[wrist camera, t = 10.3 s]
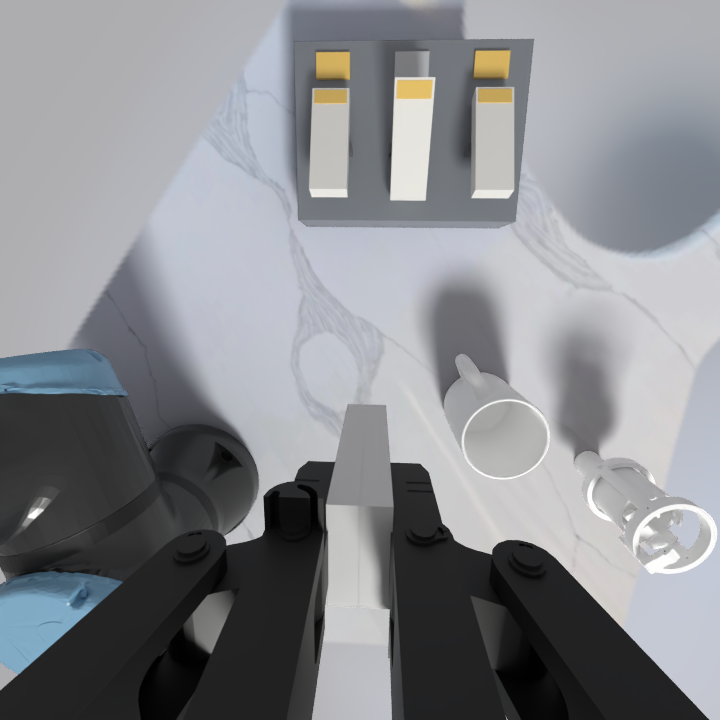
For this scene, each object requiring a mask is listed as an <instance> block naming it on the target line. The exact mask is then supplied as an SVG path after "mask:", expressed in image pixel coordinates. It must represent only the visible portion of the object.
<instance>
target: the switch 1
mask: <svg viewBox="0 0 720 720" xmlns="http://www.w3.org/2000/svg"><path fill="white" fill-rule="evenodd" d="M349 134H350V89H349V88H313V89H312V118H311V146H310V175H309V190H310V193H311V196H312V197H348V170H349Z"/></svg>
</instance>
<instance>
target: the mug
mask: <svg viewBox="0 0 720 720" xmlns="http://www.w3.org/2000/svg"><path fill="white" fill-rule="evenodd" d="M455 363H456V366H457V369H458V371H459V374H460V376H461V378H459V379H458V380H456V381H455V382H454V383H453V384H452V385H451V387H450V388H449V389H448V391H447V393H446V396H445V399H444V413H445V417H446V420H447V422H448V424H449V426H450V428H451V430H452V432H453V434H454V436H455V438H456V440H457V443H458V445H459V447H460V449H461V451H462V453H463V455H464V457H465V459H466V460H467V462H468V463H469V465H470V466H471V467H472V468H473V469H475V470H476V471H477V472H479V473H481V474H483V475H485V476H487V477H491V478H495V479H511V478H515V477H519V476H521V475H524V474H526V473H528V472H529V471H531V470H532V469H533V468H535V467H536V466H537V465H538V464H539V463H540V462H541V460H542V459H543V457H544V456H545V454H546V452H547V450H548V447H549V442H550V431H549V426H548V423H547V421H546V418H545V417H544V415H543V414H542V413H541V412H540V410H539V409H537V408H536V407H535V406H534V405H533V404H531V403H530V402H529V401H528V400H527V399H525V398H524V397H523V396H522V395H520V394H519V393H518V392H517V391H516V390H514V389H513V388H512V387H511V386H510V385H508V384H507V383H506V382H505V381H503V380H502V379H500V378H499V377H497V376H495V375H492V374H489V373H484V372H480V371H479V370H478V368H477V367H476V366H475V364H474V363H473V362H472V360H471V359H470V358H469V357H468V356H467V355H465V354H459V355H458V356H457V357H456V359H455Z"/></svg>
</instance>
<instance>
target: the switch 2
mask: <svg viewBox="0 0 720 720" xmlns="http://www.w3.org/2000/svg"><path fill="white" fill-rule="evenodd" d="M434 90H435V77H395V79H394V101H393V128H392V155H391V182H390V200H407V201H426V189H427V177H428V164H429V152H430V139H431V127H432V114H433V102H434Z"/></svg>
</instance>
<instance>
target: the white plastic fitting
mask: <svg viewBox="0 0 720 720" xmlns="http://www.w3.org/2000/svg"><path fill="white" fill-rule="evenodd" d="M574 466H575V468H576V470H577V471H578V472H579V473H581V474H582V475H583V476H584V477H585V479H584V481H583V484H582V496H583V499H584V501H585V503H586V504H587V505H588V507H589V508H590V509H591V510H592V511H593V512H594V513H595V514H596V515H597V516H599V517H601V518H602V519H605V520H608V521H613V522H614V524H615V525H616V526H617V527H618V528H619V529H620V530H621V531H622V532H623V533H624V535H622V536H621V537H619V539H620V541H621V542H622V543H623V544H624V545H625V547H626V548H627V549H628V550H629V551H630V552H631V553H632V554H633V555H634V556H635V558H636V559H637V560H638V561H639V562H640V563H641V564H642V565H643V566H644V567H645V568H646V569H647V570H648V571H649V573H651V574H654V573H655V572H658V573H665V574H672V573H680V572H684V571H687V570H689V569H691V568H693V567H695V566H697V565H699V564H700V563H701V562H703V561H704V560H705V559H706V558H707V557H708V556H709V554H710V553H711V552H712V550H713V548H714V546H715V543H716V540H717V528H716V525H715V522H714V520H713V519H712V517H711V516H710V515H709V514H708V513H707V512H705V511H704V510H703V509H701V508H700V507H699V506H697V505H696V504H694V503H693V502H691V501H689V500H687V499H684V498H679V497H670V496H669V495H668V494H666V493H665V492H664V491H662V490H661V489H660V488H658V487H657V486H656V484H655V480H654V478H653V476H652V475H651V473H650V472H649V471H648V470H647V469H645V468H644V467H643V466H641V465H640V464H638V463H637V462H635V461H633V460H631V459H627V458H611V459H607V460H605V461H604V460H603V459H602V458H601V457H600V456H599V455H597V454H596V453H595V452H592V451H584V452H582V453H580V454H579V455H578V456H577V457H576V458H575V461H574ZM633 468H635V469H638V470H639V471H640V472H641V474H642V475H641V474H640V473H638V472H637V471H636V470H634V469H633ZM593 502H594V503H595V504H596V505H597V506H598V507H599V508H600V509H598V508H597V507H595V505H594V503H593ZM682 509H686V510H691V511H694V512H696V514H697V515H698V517H699V520H700V526H701V528H700V534H699V537H698V539H697V541H696V542H695V544H694V545H693V546H692V547H691V548H690V549H689V550H687V549H686V548H685V547H684V546H683V545H681V544H680V543H679V542H678V541H677V539H678V538H677V537H676V536H675V535H674V534H673V533H672V532H671V531H669V530H668V529H669V527H670V526H671V525H672V524H673V522H674V523H676V524H677V525H678V526H679V527H680V525H681V523H682V518H683V513H682ZM623 526H624V527H626V529H624V527H623ZM642 541H645V542H646V543H647V544H648V545H649V546H650V547H651V548H652V549H658V548H663V547H664V548H663V549H661V550H659V551H658V552H656V553H654V554H653V555H651V556H649V555H648V554H647V553H646V551H645V550H644V549H643V548H642V547H641V546H640V545H639V543H641V542H642Z"/></svg>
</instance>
